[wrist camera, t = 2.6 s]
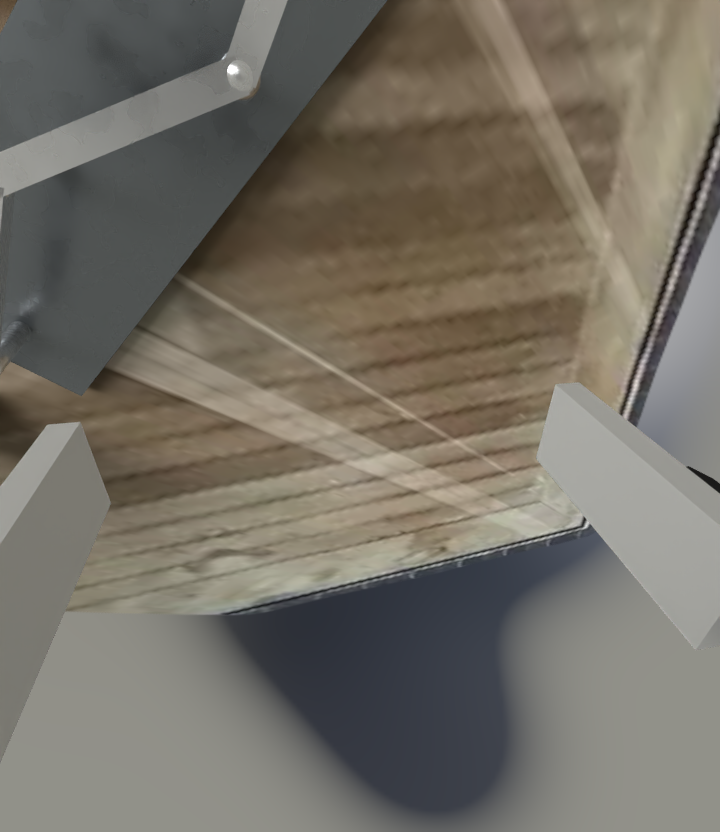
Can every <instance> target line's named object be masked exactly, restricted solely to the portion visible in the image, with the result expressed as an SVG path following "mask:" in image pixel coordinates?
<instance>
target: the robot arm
mask: <svg viewBox="0 0 720 832" xmlns="http://www.w3.org/2000/svg"><path fill="white" fill-rule="evenodd" d="M536 459H537V460H538V462H539V463H540V464H541V465H542V466H543V468H544V469H545V470H546V471H547V472H548V474H549V475H550V476H551V477H552V478H553V480H554V481H555V482H556V483H557V484H558V486H559V487H560V488H561V489H562V490H563V492H564V493H565V494H566V495H567V496H568V498H569V499H570V500H571V501H572V502H573V504H574V505H575V506H576V507H577V508H578V510H579V511H580V512H581V513H582V514H583V516H584V517H585V518H586V519H587V520H588V522H589V523H590V524H591V525H592V526H593V528H594V529H595V530H596V531H597V532H598V534H599V535H600V536H601V537H602V538H603V540H604V541H605V542H606V543H607V544H608V546H609V547H610V548H611V549H612V551H613V552H614V553H615V554H616V555H617V556H618V558H619V559H620V560H621V561H622V562H623V564H624V565H625V566H626V567H627V569H628V570H629V571H630V572H631V573H632V575H633V576H634V577H635V578H636V579H637V581H638V582H639V583H640V584H641V585H642V587H643V588H644V589H645V590H646V591H647V593H648V594H649V595H650V596H651V597H652V599H653V600H654V601H655V602H656V603H657V604H658V606H659V607H660V608H661V609H662V611H663V612H664V613H665V614H666V615H667V617H668V618H669V619H670V620H671V621H672V623H673V624H674V625H675V626H676V627H677V629H678V630H679V631H680V632H681V633H682V635H683V636H684V637H685V638H686V639H687V641H688V642H689V643H690V644H691V645H692V647H693V648H694V649H695V650H701V649H706V648H711V647H716V646H720V484H719V483H718V482H717V481H715V480H714V479H713V478H711V477H708V476H707V475H705V474H703V473H700V472H699V471H697V470H695V469H693V468H691V467H689V466H688V467H685V466H684V465H683V464H681V463H680V462H679V461H678V460H677V459H675V458H674V457H673V456H671V455H670V454H669V453H668V452H666V451H665V450H664V449H663V448H661V447H660V446H659V445H658V444H656V443H655V442H654V441H652V440H651V439H650V438H649V437H647V436H646V435H645V434H644V433H642V432H641V431H640V430H638V429H637V428H636V427H635V426H634V425H632V424H631V423H630V422H628V421H627V420H626V419H625V418H623V417H622V416H621V415H620V414H618V413H617V412H616V411H615V410H613V409H612V408H611V407H610V406H608V405H607V404H606V403H604V402H603V401H602V400H601V399H599V398H598V397H597V396H596V395H594V394H593V393H592V392H591V391H589V390H588V389H587V388H585V387H584V386H583V385H582V384H580V383H579V382H578V383H565V384H556V385H555V388H554V392H553V396H552V400H551V403H550V407H549V411H548V415H547V418H546V422H545V426H544V430H543V434H542V437H541V441H540V445H539V449H538V452H537V456H536ZM110 504H111V502H110V499H109V497H108V494H107V491H106V489H105V486H104V483H103V481H102V478H101V476H100V473H99V470H98V468H97V465H96V462H95V460H94V457H93V454H92V452H91V449H90V446H89V444H88V441H87V438H86V436H85V433H84V430H83V428H82V425H81V422H74V423H62V424H49V425H47V426H46V427H45V429H44V430H43V431H42V433H41V434H40V435H39V436H38V438H37V439H36V440H35V442H34V443H33V444H32V446H31V447H30V448H29V450H28V451H27V452H26V454H25V455H24V456H23V457H22V459H21V460H20V461H19V463H18V464H17V465H16V467H15V468H14V469H13V471H12V472H11V473H10V474H9V476H8V477H7V478H6V480H5V481H4V482H3V484H2V485H1V486H0V762H1V760H2V757H3V755H4V753H5V750H6V748H7V745H8V743H9V741H10V739H11V736H12V734H13V732H14V729H15V727H16V725H17V722H18V720H19V718H20V715H21V713H22V710H23V708H24V706H25V703H26V701H27V699H28V697H29V694H30V692H31V689H32V687H33V685H34V683H35V680H36V678H37V675H38V673H39V671H40V668H41V666H42V664H43V661H44V659H45V656H46V654H47V652H48V650H49V647H50V645H51V643H52V640H53V638H54V636H55V633H56V631H57V628H58V626H59V624H60V622H61V619H62V617H63V614H64V612H65V610H66V607H67V605H68V603H69V600H70V598H71V596H72V593H73V591H74V589H75V586H76V584H77V582H78V579H79V577H80V575H81V572H82V570H83V568H84V565H85V563H86V561H87V558H88V556H89V554H90V551H91V549H92V547H93V544H94V542H95V540H96V537H97V535H98V532H99V530H100V528H101V525H102V523H103V521H104V518H105V516H106V514H107V511H108V509H109V507H110Z"/></svg>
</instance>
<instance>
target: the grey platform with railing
mask: <svg viewBox="0 0 720 832" xmlns="http://www.w3.org/2000/svg"><path fill="white" fill-rule="evenodd" d="M386 1H387V0H17V2H16V4H15V6H14V8H13V10H12V12H11V14H10V16H9V18H8V20H7V22H6V24H5V26H4V28H3V30H2V32H1V34H0V374H1V373H2V372H3V370H4V369H5V368H6V366H7V365H8V364H9V363H10V361H11V362H13V363H15V364H17V365H19V366H21V367H23V368H25V369H27V370H29V371H31V372H33V373H35V374H37V375H39V376H42V377H44V378H46V379H48V380H50V381H52V382H54V383H56V384H58V385H60V386H62V387H64V388H66V389H68V390H70V391H72V392H74V393H76V394H78V395H80V396H82V395H83V393H84V392H85V391H86V390H87V388H88V387H89V386H90V384H91V383H92V382H93V381H94V379H95V378H96V377H97V375H98V374H99V373H100V371H101V370H102V369H103V368H104V366H105V365H106V364H107V362H108V361H109V360H110V359H111V357H112V356H113V355H114V353H115V352H116V351H117V349H118V348H119V347H120V346H121V344H122V343H123V342H124V340H125V339H126V338H127V337H128V335H129V334H130V333H131V331H132V330H133V329H134V327H135V326H136V325H137V324H138V322H139V321H140V320H141V318H142V317H143V316H144V315H145V313H146V312H147V311H148V309H149V308H150V307H151V305H152V304H153V303H154V302H155V300H156V299H157V298H158V296H159V295H160V294H161V293H162V291H163V290H164V289H165V287H166V286H167V285H168V283H169V282H170V281H171V280H172V278H173V277H174V276H175V274H176V273H177V272H178V271H179V269H180V268H181V267H182V265H183V264H184V263H185V261H186V260H187V259H188V258H189V256H190V255H191V254H192V252H193V251H194V250H195V249H196V247H197V246H198V245H199V243H200V242H201V241H202V239H203V238H204V237H205V236H206V234H207V233H208V232H209V230H210V229H211V228H212V227H213V225H214V224H215V223H216V221H217V220H218V219H219V217H220V216H221V215H222V214H223V212H224V211H225V210H226V208H227V207H228V206H229V205H230V203H231V202H232V201H233V199H234V198H235V197H236V196H237V194H238V193H239V192H240V190H241V189H242V188H243V186H244V185H245V184H246V183H247V181H248V180H249V179H250V177H251V176H252V175H253V174H254V172H255V171H256V170H257V168H258V167H259V166H260V164H261V163H262V162H263V161H264V159H265V158H266V157H267V155H268V154H269V153H270V152H271V150H272V149H273V148H274V146H275V145H276V144H277V142H278V141H279V140H280V139H281V137H282V136H283V135H284V133H285V132H286V131H287V130H288V128H289V127H290V126H291V124H292V123H293V122H294V120H295V119H296V118H297V117H298V115H299V114H300V113H301V111H302V110H303V109H304V108H305V106H306V105H307V104H308V102H309V101H310V100H311V98H312V97H313V96H314V95H315V93H316V92H317V91H318V89H319V88H320V87H321V86H322V84H323V83H324V82H325V80H326V79H327V78H328V76H329V75H330V74H331V73H332V71H333V70H334V69H335V67H336V66H337V65H338V64H339V62H340V61H341V60H342V58H343V57H344V56H345V54H346V53H347V52H348V51H349V49H350V48H351V47H352V45H353V44H354V43H355V42H356V40H357V39H358V38H359V36H360V35H361V34H362V32H363V31H364V30H365V29H366V27H367V26H368V25H369V23H370V22H371V21H372V20H373V18H374V17H375V16H376V14H377V13H378V12H379V10H380V9H381V8H382V7H383V5H384V4H385V3H386Z"/></svg>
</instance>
